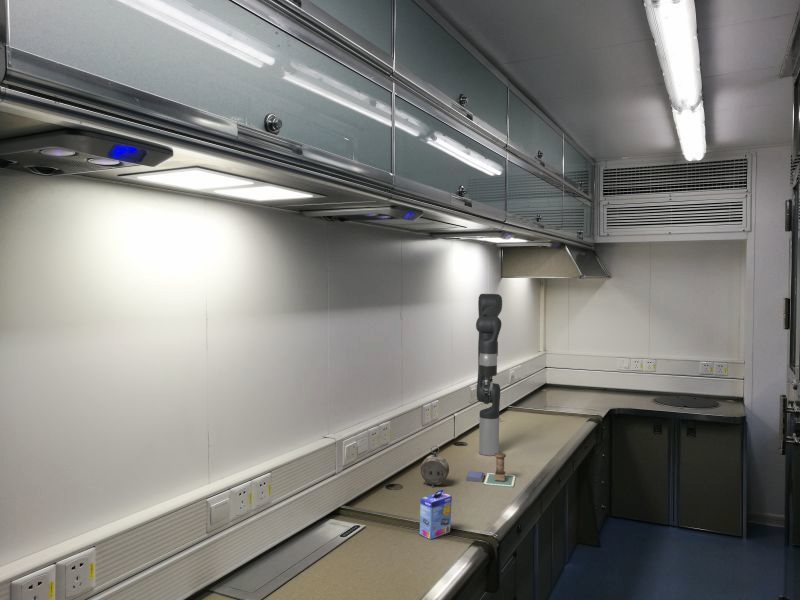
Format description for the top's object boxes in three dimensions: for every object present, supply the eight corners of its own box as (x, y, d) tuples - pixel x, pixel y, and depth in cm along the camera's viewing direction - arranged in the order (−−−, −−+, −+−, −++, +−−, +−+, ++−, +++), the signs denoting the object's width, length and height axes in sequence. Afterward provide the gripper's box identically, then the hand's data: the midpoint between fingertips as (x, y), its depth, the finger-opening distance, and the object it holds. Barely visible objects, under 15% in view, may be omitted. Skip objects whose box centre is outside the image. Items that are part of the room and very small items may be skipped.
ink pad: (468, 474, 266) (468, 470, 266) (484, 475, 264) (484, 471, 264) (466, 480, 258) (466, 476, 258) (482, 482, 256) (482, 477, 256)
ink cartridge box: (431, 540, 198) (431, 494, 198) (418, 535, 202) (419, 490, 202) (451, 532, 205) (452, 487, 205) (439, 527, 209) (439, 483, 209)
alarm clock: (449, 485, 252) (449, 444, 251) (446, 489, 246) (447, 448, 246) (422, 482, 255) (422, 442, 254) (419, 486, 249) (419, 446, 249)
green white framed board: (487, 473, 267) (487, 472, 267) (515, 476, 264) (515, 475, 264) (483, 484, 253) (483, 483, 253) (513, 487, 250) (513, 486, 250)
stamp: (495, 476, 262) (495, 452, 262) (506, 477, 261) (506, 452, 261) (493, 481, 256) (494, 455, 256) (504, 482, 255) (505, 456, 255)
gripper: (481, 361, 276) (480, 398, 276) (477, 365, 262) (476, 404, 263) (498, 362, 274) (497, 399, 275) (495, 366, 260) (494, 405, 261)
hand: (487, 401), depth 269 cm, fingers open, 8 cm apart
